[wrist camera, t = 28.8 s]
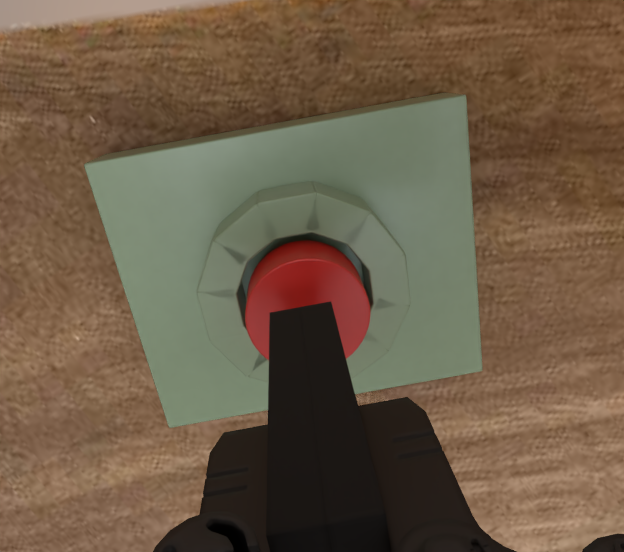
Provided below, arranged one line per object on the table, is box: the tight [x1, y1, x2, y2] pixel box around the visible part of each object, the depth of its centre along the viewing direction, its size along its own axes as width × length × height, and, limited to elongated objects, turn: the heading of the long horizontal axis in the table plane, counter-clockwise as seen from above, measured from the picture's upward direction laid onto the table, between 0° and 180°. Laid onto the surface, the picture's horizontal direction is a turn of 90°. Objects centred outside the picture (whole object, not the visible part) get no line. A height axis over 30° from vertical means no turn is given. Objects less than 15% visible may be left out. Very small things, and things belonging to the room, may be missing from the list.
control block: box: [84, 93, 482, 428], centre depth 18 cm, size 12×10×4 cm
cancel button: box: [245, 240, 370, 360], centre depth 16 cm, size 4×4×2 cm
